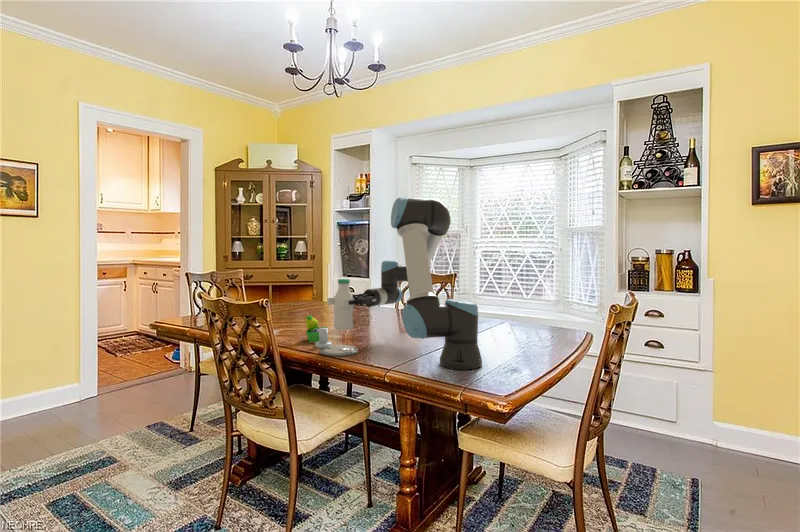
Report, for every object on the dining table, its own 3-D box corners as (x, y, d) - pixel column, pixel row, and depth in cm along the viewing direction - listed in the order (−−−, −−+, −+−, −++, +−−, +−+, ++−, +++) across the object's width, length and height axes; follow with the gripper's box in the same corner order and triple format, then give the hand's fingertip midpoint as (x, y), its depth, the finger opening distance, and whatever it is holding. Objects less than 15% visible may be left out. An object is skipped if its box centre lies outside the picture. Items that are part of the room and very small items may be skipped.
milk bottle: (352, 330, 179) (352, 280, 178) (332, 330, 180) (332, 279, 179) (354, 326, 187) (354, 278, 186) (336, 326, 187) (336, 278, 186)
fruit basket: (323, 343, 195) (323, 317, 194) (302, 343, 195) (302, 317, 194) (328, 338, 206) (327, 313, 205) (308, 337, 206) (308, 313, 206)
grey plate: (364, 353, 178) (364, 350, 178) (328, 358, 170) (328, 354, 170) (348, 346, 191) (348, 342, 190) (314, 350, 183) (314, 346, 183)
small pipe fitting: (334, 347, 188) (334, 329, 188) (318, 349, 185) (318, 330, 184) (328, 343, 194) (328, 326, 194) (312, 345, 191) (312, 327, 190)
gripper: (392, 308, 190) (352, 314, 173) (357, 303, 203) (318, 309, 186) (392, 290, 190) (352, 295, 172) (357, 287, 203) (318, 291, 185)
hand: (334, 302), depth 179 cm, fingers closed on milk bottle, 7 cm apart
